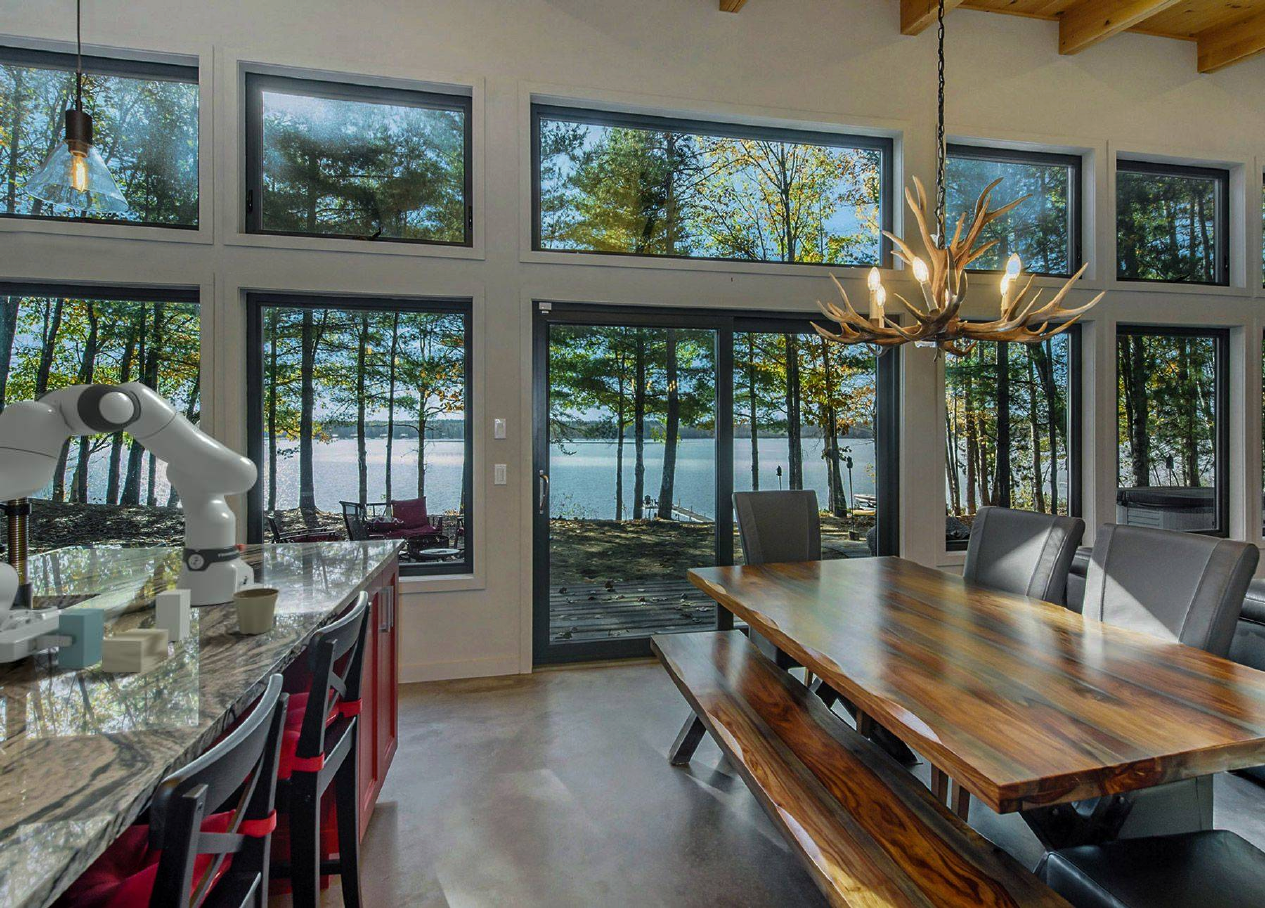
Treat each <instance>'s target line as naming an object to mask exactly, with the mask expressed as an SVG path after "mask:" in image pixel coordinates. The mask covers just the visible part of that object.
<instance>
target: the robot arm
mask: <svg viewBox="0 0 1265 908" xmlns="http://www.w3.org/2000/svg"><path fill="white" fill-rule="evenodd" d="M121 430H124V431H125V432H126V433H127V434H128V435H129V436H130V437H132V439H134V440H135V441H136V442H138V444H140V445H141V446H143V447H144V448H145V449H146V450H147V451H148V452H149V453H150V454H152V455H153V456H154V457H156V458H157V459H158V460H160V462H161V461H162V462H164V463H166V464H167V466H166V470H165V475H166V478H167V482H169V483H170V485H172V487H173V488H174V489H175V491H176V493H177V496H178V499H179V501H180V505H181V508H182V511H183V516H184V528H185V529H184V546H183V548H182V553H181V555H182V561H183V562H184V563H183V564H182V565H181V566H180V567H179V569H178V576H177V582H176V590H182V589H190V606H207V605H208V606H209V605H217V604H218V605H219V604H223V603H224V604H225V603H230V602H234V600H233V598H232V597H231V595H232V594H233V593H235V592H238V591H242V590H247V589H255V588H264V584H263V583H259V582H255V579H254V578H255V577H254V576H255V574H254V568H252V566H250V565H248V563H246V562H245V561H244V560H242V559H241V558H240V552H244V550H245V543H236V533H237V532H236V526H237V525H236V524H237V523H236V522H237V520H236V519H237V518H236V515H235V513H234V511H232V510H231V508H229V506H228V503H227V502H226V499H225V496H230V495H231V496H233V495H237V494H242V493H246V492H248V491H250V490H251V489H252V487H254V485H255V484H256V482H257V480H258V479H257V478H258V469H257V466H256V464H255V463H254V462H253V461H252V459H250V458H248V457H246V456H243V455H240V454H238V453H237V452H235V451H233V450H232V449H230V448H228V447H227V446H225V445H224V444H222V443H221V442H219V441H218V440H216V439H214V438H212V436H209V435H208V434H206V433H205V432H204V431H202V430H200V428H198V427H197V426H195V424H193V423H192V421H190V420H189V419H188V418H187V417H186V416H185V415H183V413H181V412H180V411H179V410H178V409H177V408H176V407H175V406H174V405H173V404H172V403H170V402H169V401H168V400H167V399H166V398H164V397H163V396H161V395H160V394H159V393H158V392H156V391H154V390H153V389H151V388H150V387H149V386H146V384H143V383H141V382H138V381H127V382H123V383H121V384H120V383H119V384H117V385H113V384H109V383H97V384H96V383H95V384H75V385H71V386H68V387H57V388H54V389H51V390H47V391H46V392H43V393H42V394H40V395H39V396H37V398H35V400H22V401H15V402H12V403H10V404H9V405H7V406H6V407H5V408H4V409H3V410H2V412H1V413H0V503H2V502H8V501H12V500H19V499H24V498H27V497H30V496H33V495H35V494H37V493H39V492H41V491H42V490H44V489H45V488H46V487H48V485H49V484H50V483H51V481H52V479H53V478H54V475H55V473H56V470H57V466H58V464H59V459H60V457H61V453H62V447H63V445H64V444H65V442H66V441H67V440H68V439H69V437H71V436H76V437H77V436H78V437H79V436H80V437H81V436H82V437H83V436H84V437H85V436H87V437H88V436H95V435H99V434H111V433H115V432H118V431H121ZM20 585H21V578H20V575H19V573H18V571H17V570H16V568H15V567H14V566H13V565H11V564H10V563H7V562H3V561H0V664H2V663H11V662H16V661H18V660H20V659H24V658H25V657H28V656H31V655H34V654H36V653H39V652H41V651H42V652H43V651H45V650H47V649H54V648H58V647H68V646H70V645H73V644H75V643H76V640H75V639H76V635H69V634H66V635H63V636H59V615H60V614H64V613H67V612H70V611H73V610H76V609H77V608H75V609H74V608H62V609H58V606H56V605H47V606H41V607H40V606H39V607H35V608H28V609H12V607H13V605H14V603H15V601H16V598H17V596H18V593H19V590H20Z"/></svg>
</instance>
